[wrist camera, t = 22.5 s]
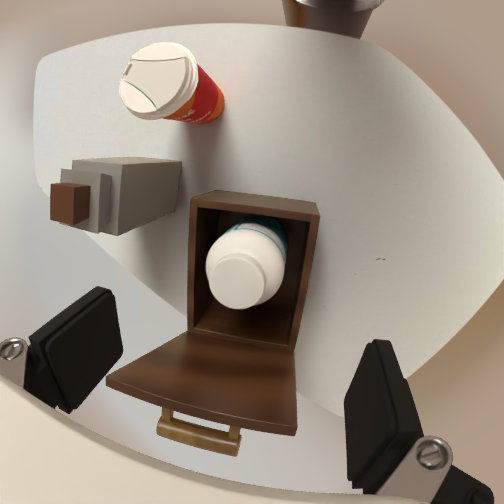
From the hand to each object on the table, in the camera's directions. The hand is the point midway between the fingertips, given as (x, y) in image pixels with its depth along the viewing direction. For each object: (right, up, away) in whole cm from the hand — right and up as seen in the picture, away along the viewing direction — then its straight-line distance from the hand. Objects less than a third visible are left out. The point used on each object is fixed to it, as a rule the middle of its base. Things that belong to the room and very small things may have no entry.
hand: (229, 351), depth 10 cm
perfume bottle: (-12, +13, +28) cm, 33 cm away
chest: (+2, +3, +28) cm, 28 cm away
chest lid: (-2, -6, +14) cm, 15 cm away
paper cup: (-5, +22, +23) cm, 33 cm away
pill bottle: (+2, +5, +27) cm, 27 cm away
